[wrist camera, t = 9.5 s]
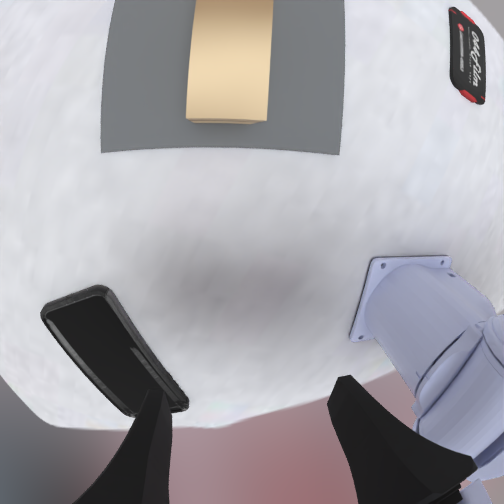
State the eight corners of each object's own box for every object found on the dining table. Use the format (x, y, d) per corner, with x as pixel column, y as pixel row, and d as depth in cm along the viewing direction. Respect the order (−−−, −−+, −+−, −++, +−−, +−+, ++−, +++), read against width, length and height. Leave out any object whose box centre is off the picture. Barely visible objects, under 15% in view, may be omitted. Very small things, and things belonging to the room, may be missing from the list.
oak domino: (249, 124, 14) (266, 120, 10) (194, 123, 14) (185, 118, 9) (258, -21, 10) (276, -64, 5) (208, -23, 10) (209, -69, 5)
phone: (128, 418, 23) (35, 311, 17) (129, 410, 24) (41, 303, 18) (194, 409, 23) (104, 286, 17) (193, 400, 24) (109, 278, 18)
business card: (450, 1, 10) (483, 29, 11) (445, 3, 11) (478, 30, 12) (452, 85, 14) (484, 110, 15) (446, 85, 15) (479, 109, 15)
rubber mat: (340, -8, 11) (343, -10, 11) (335, 154, 16) (339, 155, 15) (122, -18, 9) (120, -21, 8) (103, 152, 14) (100, 152, 13)
